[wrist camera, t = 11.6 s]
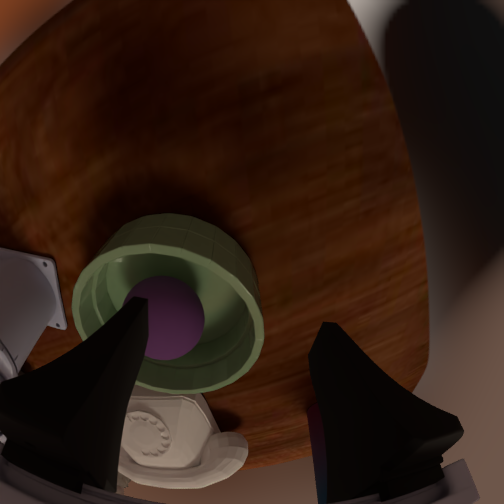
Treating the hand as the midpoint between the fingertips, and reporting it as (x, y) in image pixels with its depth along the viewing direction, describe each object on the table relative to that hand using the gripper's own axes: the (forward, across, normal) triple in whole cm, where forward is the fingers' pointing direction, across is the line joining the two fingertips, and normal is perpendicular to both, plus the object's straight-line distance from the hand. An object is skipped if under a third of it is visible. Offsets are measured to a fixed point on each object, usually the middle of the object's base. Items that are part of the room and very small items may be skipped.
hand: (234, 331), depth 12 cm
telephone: (+11, +5, +26) cm, 29 cm away
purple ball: (+7, +4, +6) cm, 10 cm away
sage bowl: (+10, +4, +6) cm, 13 cm away
